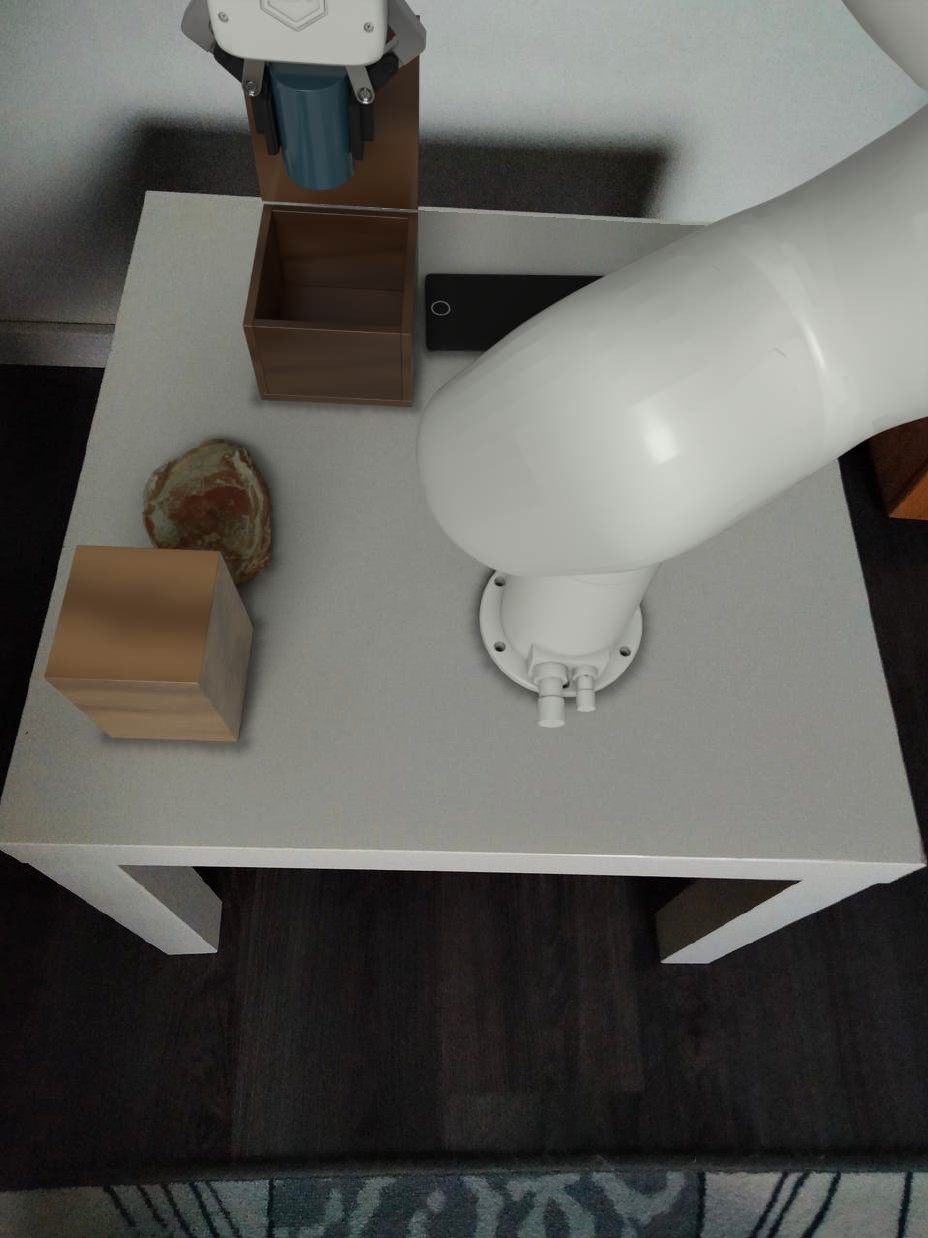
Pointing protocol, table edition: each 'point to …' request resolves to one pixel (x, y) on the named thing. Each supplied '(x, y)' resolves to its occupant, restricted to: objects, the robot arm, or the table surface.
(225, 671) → the stand
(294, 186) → the lid
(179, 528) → the stone
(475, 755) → the table surface
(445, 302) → the cell phone
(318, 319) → the wooden box
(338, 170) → the blue glossy cylinder
